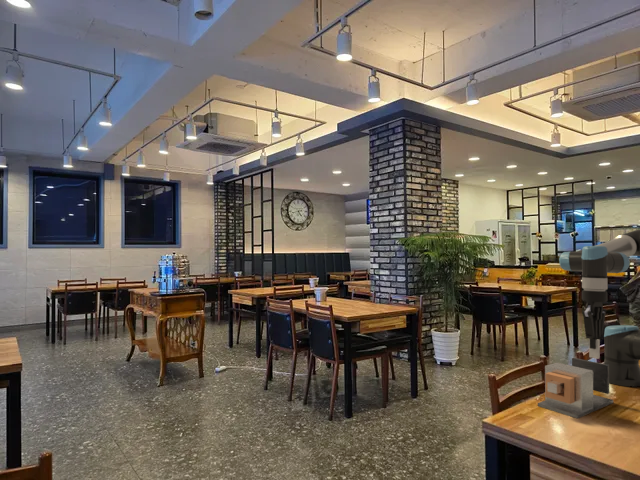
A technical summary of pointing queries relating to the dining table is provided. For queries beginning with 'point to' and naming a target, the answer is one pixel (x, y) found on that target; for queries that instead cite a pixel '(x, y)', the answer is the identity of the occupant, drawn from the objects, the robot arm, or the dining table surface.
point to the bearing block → (583, 392)
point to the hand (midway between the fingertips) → (594, 357)
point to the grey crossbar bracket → (598, 375)
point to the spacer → (568, 388)
